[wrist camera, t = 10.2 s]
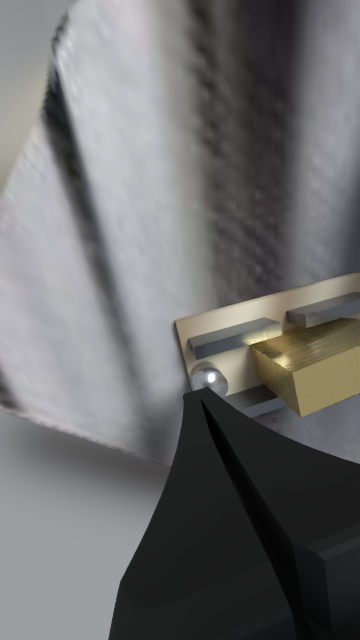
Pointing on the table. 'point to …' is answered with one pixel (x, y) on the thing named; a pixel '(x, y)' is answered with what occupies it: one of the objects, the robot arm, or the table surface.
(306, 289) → the plywood plate
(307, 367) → the khaki rectangular block
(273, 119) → the table surface
